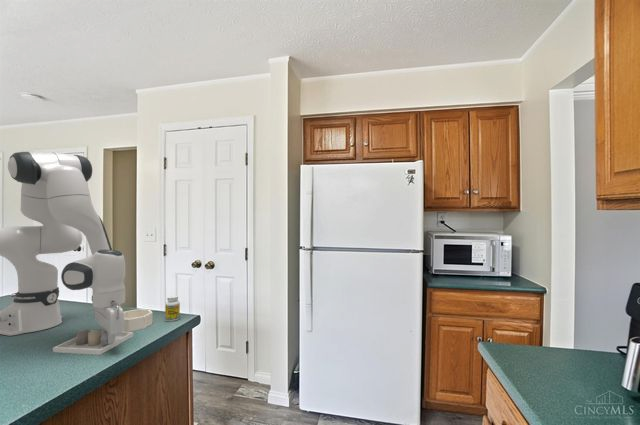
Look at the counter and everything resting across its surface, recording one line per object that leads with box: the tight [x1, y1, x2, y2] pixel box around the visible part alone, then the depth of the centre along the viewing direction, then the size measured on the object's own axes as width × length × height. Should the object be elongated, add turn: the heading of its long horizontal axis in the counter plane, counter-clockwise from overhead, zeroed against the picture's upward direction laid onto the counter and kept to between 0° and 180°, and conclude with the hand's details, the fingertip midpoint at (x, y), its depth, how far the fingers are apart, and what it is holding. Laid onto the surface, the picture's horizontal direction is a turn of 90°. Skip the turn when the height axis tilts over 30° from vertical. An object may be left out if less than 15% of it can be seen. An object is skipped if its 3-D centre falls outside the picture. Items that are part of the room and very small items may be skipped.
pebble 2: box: [88, 329, 102, 346], centre depth 97 cm, size 4×4×4 cm
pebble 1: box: [75, 328, 91, 345], centre depth 97 cm, size 4×4×4 cm
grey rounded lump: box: [102, 331, 109, 347], centre depth 96 cm, size 4×4×4 cm
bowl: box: [123, 308, 153, 332], centre depth 113 cm, size 12×12×5 cm
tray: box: [52, 329, 134, 356], centre depth 97 cm, size 16×14×2 cm
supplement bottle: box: [164, 294, 181, 322], centre depth 122 cm, size 5×5×10 cm
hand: (108, 340), depth 96 cm, fingers open, 4 cm apart
